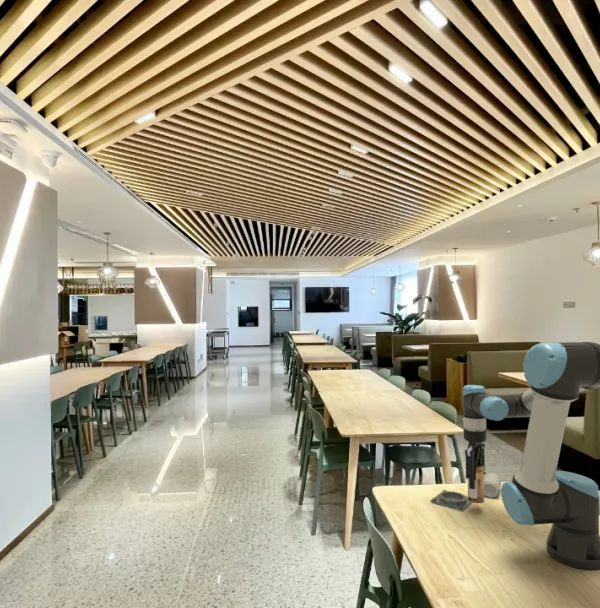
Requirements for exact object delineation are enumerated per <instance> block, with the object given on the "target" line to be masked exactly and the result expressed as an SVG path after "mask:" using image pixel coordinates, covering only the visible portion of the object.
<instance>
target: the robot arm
mask: <svg viewBox="0 0 600 608" xmlns="http://www.w3.org/2000/svg"><path fill="white" fill-rule="evenodd" d="M522 370H523V372H524V374H523V376H524V378H525V380H526V382H527V383H528V384H529V388H528V389H526V390H525V391H523V392H522V393H519V394H494V395H493V394H492V395H490V394H487V393H486V388H485V387H484V386H483V385H479V384H467V385H464V386H463V388H462V409H463V411H462V413H463V414H462V415H463V418H462V419H461V420H462V421H463V428H464V429H463V439H464V440H465V441H467V442H468V445H467V449H464V454H465V479H467V480H468V479H469V497H471V498H475V499H477V479H476V468H477V464H479V465H483V466H484V476H486V464H485V463H486V458H485V455H486V454H485V448H486V447H485V446H486V445H485V443H484V442H486V441H487V430H486V429H487V419H488V420H489V421H490V420H491V421H502V420H504V419H506V418H507V419H508V418H529V422H528V427H527V433H526V437H525V442H524V447H523V453H522V454H523V455H522V458H521V459H522V460H521V465H520V467H517V468H515V469H514V471H513V476H512V480H507V481H505V482H503V483H502V484H501V487H500V495H501V500H502V503H503V506H504V509H505V511H506V513H507V514H508V516H509V517H510V519H511V520H512V521H513V522H514V523H515V524H517V525H520V526H535V525H536V526H537V525H545V524H547V525H548V524H552V526H551V527H550V531H549V533H548V536H547V538H546V541H545V550H546V553H547V554H548V555H549V556H550V557H551V558H552V559H554V560H555V561H557V562H559V563H561V564H564V565H565V566H568V567H571V568H576V569H580V570H589V571H595V570H596V571H597V570H600V496H599V495H600V493H599V485H598V484H597V483H596V482H595V481H594V480H593V479H591V478H589V477H587V476H584V475H582V474H578V473H575V472H570V471H565V470H557V467H558V462H559V458H560V453H561V447H562V443H563V439H564V434H565V429H566V425H567V420H568V415H569V410H570V406H571V403H572V402H574V401H577V400H578V399H579V395H580V393H581V392H583V391H586V390H587V391H594V390H596V389H599V388H600V343H597V342H591V341H580V342H579V341H573V342H572V341H569V342H568V341H563V342H559V341H558V342H557V341H549V342H541V343H537V344H535V345H533V346H532V347H531V348H529V350H528V351H527V352H526V354H525V357H524V360H523V365H522Z"/></svg>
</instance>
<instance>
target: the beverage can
mask: <svg viewBox="0 0 600 608" xmlns="http://www.w3.org/2000/svg"><path fill="white" fill-rule="evenodd" d="M501 487H502V480H501V478H500V476H499V475H498V474H496V473H493V472H489V473H487V474H485V475H484V497H486V498H489V499H494V498H496V497H498V495H499V492H500V491H501Z"/></svg>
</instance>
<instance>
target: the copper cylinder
mask: <svg viewBox="0 0 600 608" xmlns="http://www.w3.org/2000/svg"><path fill="white" fill-rule="evenodd" d="M484 472H485V471H484V466H483V465H479V464H477V468H476V479H477V499H475V498H471V497H469V479H468V478H467V497H468V500H469V501H470V502H473V503H474V504H483V503H485V496H484V478H485V475H484ZM473 503H472V504H473Z"/></svg>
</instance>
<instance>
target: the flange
mask: <svg viewBox="0 0 600 608" xmlns="http://www.w3.org/2000/svg"><path fill="white" fill-rule="evenodd" d="M431 502H432V503H431ZM430 503H431V504H434V503H435V504H434V505H437V504H438V506H441V507H444V508H449V509H453V510H455V511H458V512H459V511H460V512H464V511H465V510H466V509H468V508H469V506H471V505H472V504H473V502H470V501H469V500H468V495H465V494H462V493H461V492H458V491H452V490H451V491H450V490H446V489H443V490H442V491H441V492H440V493H439V494H437V495H436V496H435V497H433V498H431V499H430Z"/></svg>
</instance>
